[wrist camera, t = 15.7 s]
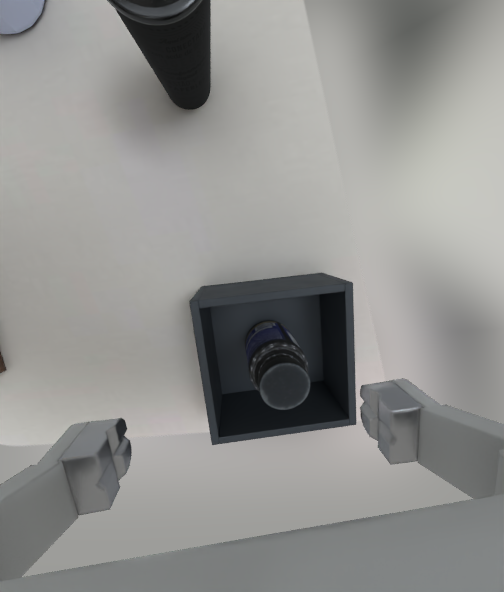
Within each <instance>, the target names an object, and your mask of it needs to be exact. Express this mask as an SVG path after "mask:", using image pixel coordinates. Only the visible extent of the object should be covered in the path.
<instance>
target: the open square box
mask: <svg viewBox="0 0 504 592" xmlns="http://www.w3.org/2000/svg"><path fill="white" fill-rule="evenodd" d="M190 308H191V315H192V321H193V327H194V334H195V340H196V346H197V352H198V359H199V365H200V371H201V378H202V384H203V390H204V397H205V403H206V409H207V416H208V422H209V428H210V434H211V441H212V445H216V444H222V443H229V442H237V441H243V440H251V439H258V438H265V437H272V436H279V435H286V434H293V433H300V432H307V431H314V430H321V429H329V428H335V427H343V426H348V425H356V393H355V353H354V314H353V283H352V282H349V281H346V280H343V279H340V278H337V277H333V276H330V275H327V274H324V273H316V274H307V275H298V276H290V277H281V278H272V279H263V280H254V281H246V282H237V283H228V284H219V285H210V286H202V287H201V288H200V289H199V290H198V292H197V293H196V294H195V295H194V297H193V298H192V299H191V300H190ZM268 320H272V321H276V322H279V323H281V324H283V325H284V326H285V327H286V328H287V329H288V330H289V332H290V333H291V335H292V336H293V338H294V339H295V341H296V342H297V344H298V345H299V347H300V348H301V350H302V351H303V353H304V354H305V356H306V359H307V361H308V375H309V378H310V390H309V393H308V396H307V397H306V399H305V400H304V401H303V402H302V403H301V404H300V405H298V406H296V407H294V408H291V409H287V410H280V409H275V408H273V407H270V406H269V405H267V404H266V403H265V402H264V400H263V399H262V397H261V395H260V392H259V391H258V390H257V389H256V388H255V387H254V385H253V383H252V382H251V380H250V376H249V369H248V362H247V354H246V347H245V340H246V336H247V334H248V332H249V331H250V329H251V328H252V327H253V326H254V325H256V324H258V323H260V322H262V321H268Z"/></svg>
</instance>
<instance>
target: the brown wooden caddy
mask: <svg viewBox="0 0 504 592" xmlns="http://www.w3.org/2000/svg"><path fill="white" fill-rule="evenodd" d="M5 370H6V368H5V365H4V362H3V359H2V356H1V353H0V373H2V372H3V371H5Z"/></svg>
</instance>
